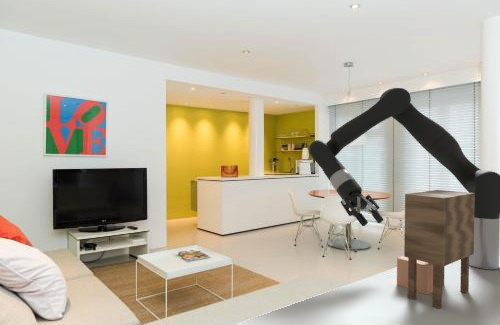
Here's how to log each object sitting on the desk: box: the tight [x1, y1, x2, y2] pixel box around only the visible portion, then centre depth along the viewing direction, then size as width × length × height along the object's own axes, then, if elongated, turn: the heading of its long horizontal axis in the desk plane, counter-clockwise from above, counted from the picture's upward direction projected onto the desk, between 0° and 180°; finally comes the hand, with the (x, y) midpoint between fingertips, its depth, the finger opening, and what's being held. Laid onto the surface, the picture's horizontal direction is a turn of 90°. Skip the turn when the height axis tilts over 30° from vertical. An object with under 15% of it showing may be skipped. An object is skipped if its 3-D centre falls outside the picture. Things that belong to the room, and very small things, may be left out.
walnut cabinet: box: [403, 189, 475, 309], centre depth 92 cm, size 18×11×28 cm, turn 126°
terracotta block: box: [396, 255, 433, 295], centre depth 97 cm, size 4×9×8 cm, turn 36°
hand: (373, 223), depth 108 cm, fingers open, 8 cm apart
